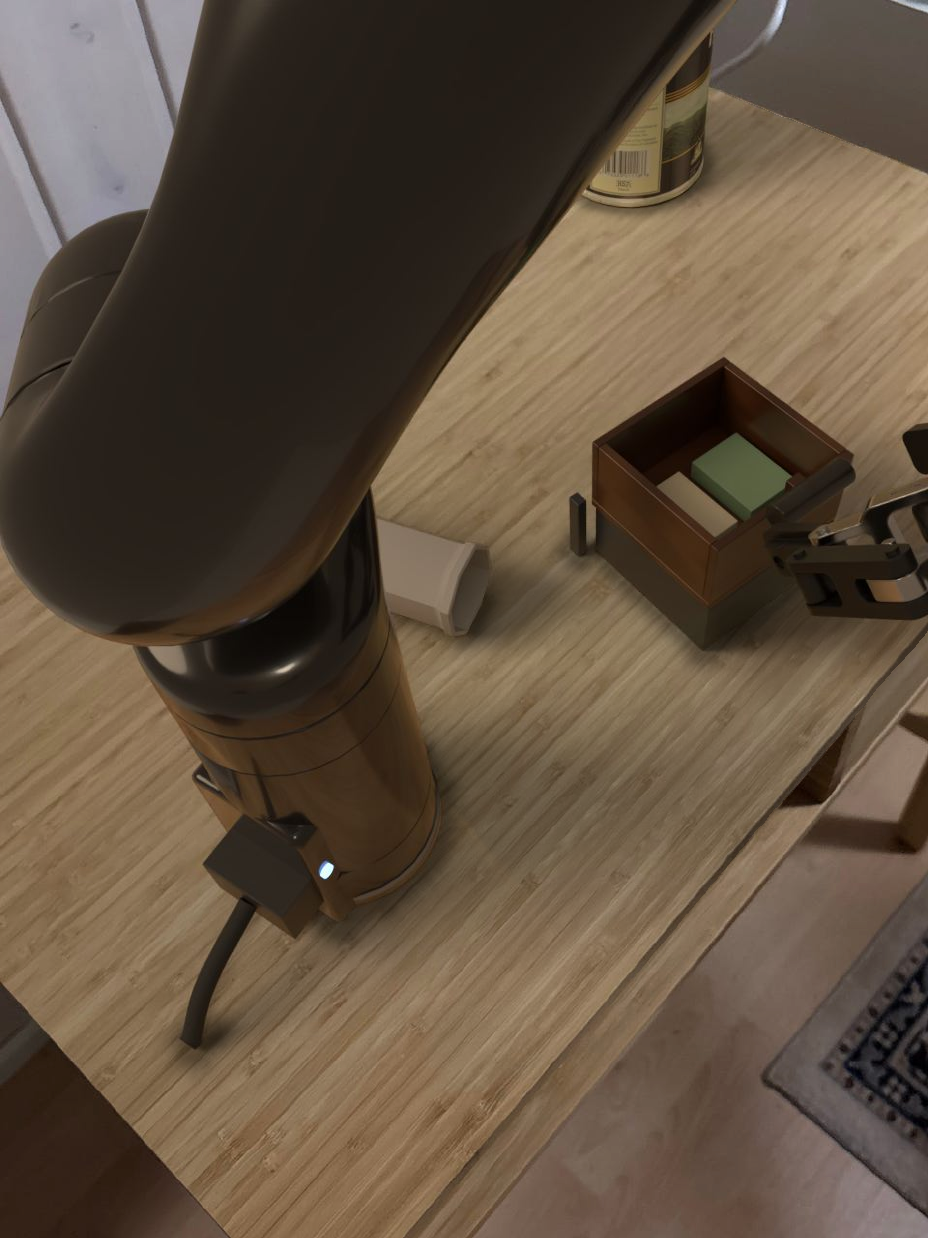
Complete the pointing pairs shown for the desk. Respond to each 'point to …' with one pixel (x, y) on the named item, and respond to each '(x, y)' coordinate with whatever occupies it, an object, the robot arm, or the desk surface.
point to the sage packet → (740, 476)
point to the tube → (432, 576)
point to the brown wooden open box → (670, 445)
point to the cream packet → (698, 505)
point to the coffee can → (661, 142)
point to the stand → (673, 581)
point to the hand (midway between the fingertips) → (845, 498)
